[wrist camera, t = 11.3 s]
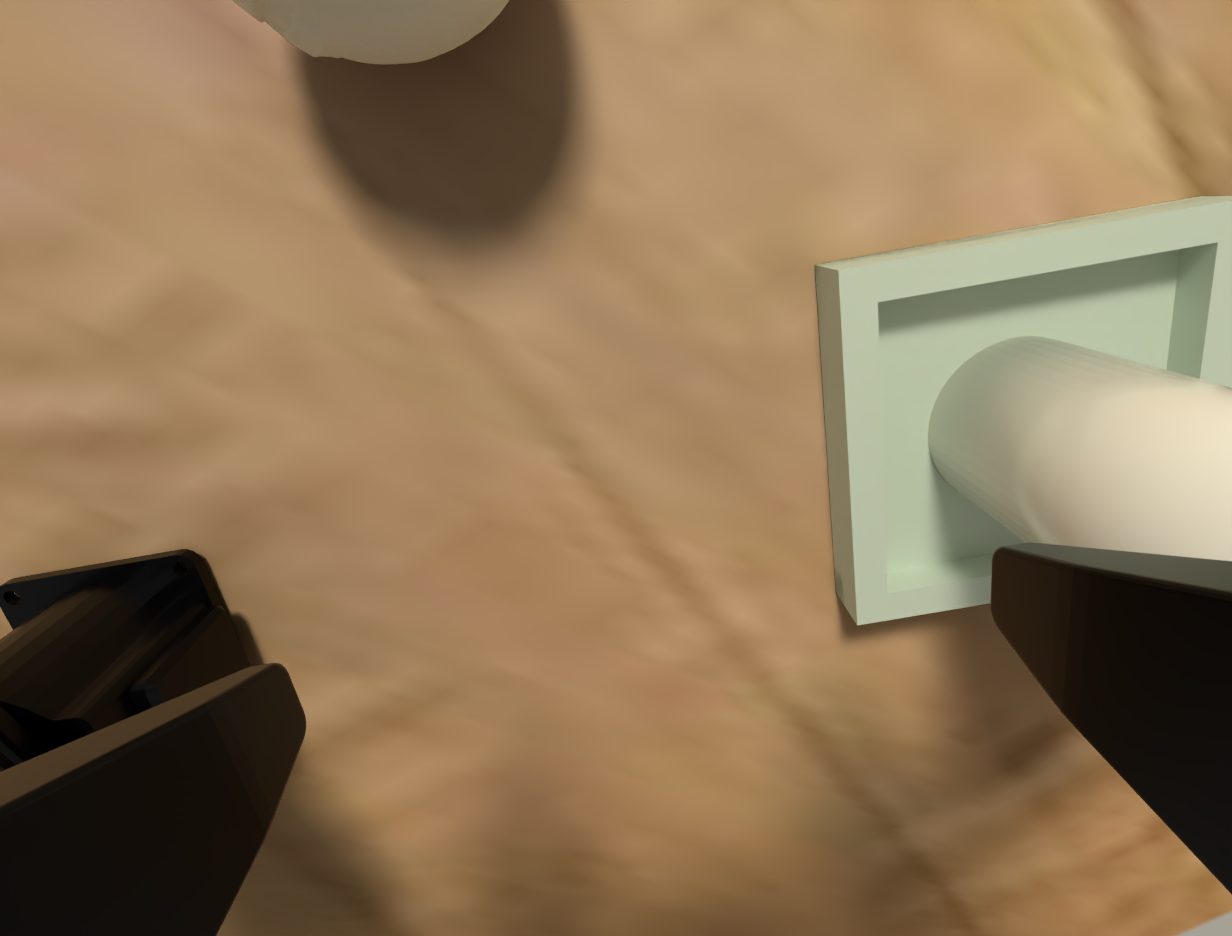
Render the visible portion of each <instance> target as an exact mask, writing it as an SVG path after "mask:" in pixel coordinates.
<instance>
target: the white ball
mask: <svg viewBox="0 0 1232 936" xmlns="http://www.w3.org/2000/svg"><path fill="white" fill-rule="evenodd" d="M233 1H234V2H235V3H236V4H237V5H239V6H240V7H241V8H242V9H244V10H245V11H246V12H247V13H249V14H250V15H251V16H253V17H254V18H255V19H257V20H258V21H260V22H266V23H267V24H269V25H270V26H271V27H272V28H273V29H274V30H276V31H277V32H278V33H279V34H280V35H282V36H283V37H284V38H285V39H286V40H287V41H288V42H289V43H291V44H293V45H294V46H296V47H297V48H299V49H301V50H302V51H304V52H306V53H307V54H309V55H311V56H313V57H320V56H324V57H334V58H340V57H342V58H345V59H349V60H353V61H357V62H362V63H369V64H379V65H380V64H381V65H384V64H403V63H404V64H406V63H415V62H421V61H425V60H429V59H431V58H434V57H436V56H438V55H441V54H444V53H446V52H448V51H451V50H453V49H455V48H456V47H458V46H460V45H462V44H464V43H465V42H468V41H469V40H470V39H471V38H473V37H474V36H475V35H477V34H478V33H480V32H482V31H483V30H484V29H485V28H486V27H487V26H488V25H489V24H490V23H491V22H492V21H493V20H494V19H495V18H496V17H497V16H498V15H499V14H500V13H501V11H502V10H503V8H504V7H505V6H506V4H507V3H508V2H509V0H233Z"/></svg>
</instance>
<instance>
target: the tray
mask: <svg viewBox="0 0 1232 936" xmlns="http://www.w3.org/2000/svg"><path fill="white" fill-rule="evenodd" d="M815 277H816V292H817V307H818V323H819V338H820V354H821V369H822V385H823V400H824V415H825V431H826V446H827V462H828V477H829V493H830V508H831V524H832V539H833V554H834V570H835V585H836V594H837V595H838V597H839V598H840V600H841V601H842V603H843V604H844V606H845V607H846V609H847V610H848V612H849V614H850V615H851V617H852V618H853V620H854V621H855V623H856V624H857V625H863V624H869V623H875V622H881V621H887V620H893V619H899V618H905V617H911V616H917V615H923V614H929V613H935V612H941V611H947V610H953V609H959V608H965V607H971V606H977V605H983V604H989V603H990V602H991V573H992V557H993V554H994V552H995V551H996V549H997V548H999V547H1002V546H1006V545H1013V544H1019V543H1026V542H1024V541H1023V540H1022V539H1020V538H1019V537H1018V536H1016V535H1015V534H1014V533H1012V532H1011V531H1010V530H1008V529H1007V528H1006V527H1004V526H1003V525H1002V524H1000V523H999V522H998V521H996V520H995V519H994V518H993V517H991V516H990V515H989V514H987V513H986V512H985V511H983V510H982V509H981V508H979V507H978V506H977V505H975V504H974V503H973V502H971V501H970V500H969V499H967V498H966V497H965V496H963V495H962V494H961V493H959V492H958V491H957V490H956V489H954V488H953V487H952V486H950V485H949V484H948V483H947V482H946V481H945V480H944V479H943V478H942V476H941V475H940V474H939V472H938V471H937V469H936V467H935V465H934V463H933V461H932V458H931V455H930V450H929V445H928V427H929V420H930V416H931V412H932V409H933V406H934V404H935V401H936V399H937V397H938V395H939V393H940V391H941V389H942V388H943V386H944V385H945V383H946V382H947V380H948V379H949V378H950V377H951V376H952V374H953V373H954V372H955V371H956V370H957V369H958V368H959V367H960V366H961V365H962V364H963V363H964V362H965V361H967V360H968V359H969V358H971V357H972V356H973V355H975V354H976V353H978V352H979V351H981V350H983V349H984V348H986V347H988V346H991V345H993V344H995V343H997V342H1000V341H1003V340H1007V339H1010V338H1016V337H1021V336H1041V337H1047V338H1052V339H1056V340H1059V341H1063V342H1067V343H1070V344H1074V345H1078V346H1081V347H1085V348H1089V349H1092V350H1096V351H1099V352H1103V353H1107V354H1110V355H1114V356H1118V357H1121V358H1125V359H1129V360H1132V361H1136V362H1140V363H1143V364H1147V365H1151V366H1154V367H1158V368H1161V369H1165V370H1169V371H1172V372H1176V373H1180V374H1183V375H1187V376H1191V377H1194V378H1198V379H1202V380H1205V381H1209V382H1213V383H1216V384H1220V385H1223V386H1227V387H1231V388H1232V196H1202V197H1193V198H1187V199H1182V200H1176V201H1170V202H1165V203H1159V204H1154V205H1148V206H1142V207H1137V208H1131V209H1126V210H1120V211H1114V212H1109V213H1103V214H1097V215H1092V216H1086V217H1081V218H1075V219H1069V220H1064V221H1058V222H1053V223H1047V224H1041V225H1036V226H1030V227H1025V228H1019V229H1013V230H1008V231H1002V232H996V233H991V234H985V235H980V236H974V237H968V238H963V239H957V240H952V241H946V242H940V243H935V244H929V245H923V246H918V247H912V248H907V249H901V250H895V251H890V252H884V253H879V254H873V255H867V256H862V257H856V258H850V259H845V260H839V261H834V262H828V263H822V264H817V265H815Z"/></svg>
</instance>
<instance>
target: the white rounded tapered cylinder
mask: <svg viewBox="0 0 1232 936" xmlns="http://www.w3.org/2000/svg"><path fill="white" fill-rule="evenodd" d="M928 445H929V450H930V455H931V458H932V461H933V463H934V465H935V467H936V469H937V471H938V472H939V474H940V475H941V476H942V478H943V479H944V480H945V481H946V482H947V483H948V484H949V485H950V486H952V487H953V488H954V489H956V490H957V491H958V492H959V493H961V494H962V495H963V496H965V497H966V498H967V499H969V500H970V501H971V502H973V503H974V504H975V505H977V506H978V507H979V508H981V509H982V510H983V511H985V512H986V513H987V514H989V515H990V516H991V517H993V518H994V519H995V520H996V521H998V522H999V523H1000V524H1002V525H1003V526H1004V527H1006V528H1007V529H1008V530H1010V531H1011V532H1012V533H1014V534H1015V535H1016V536H1018V537H1019V538H1020V539H1022V540H1023V541H1024V542H1026V543H1028V542H1034V543H1044V544H1055V545H1065V546H1076V547H1087V548H1097V549H1108V550H1118V551H1129V552H1139V553H1150V554H1161V555H1171V556H1182V557H1192V558H1203V559H1213V560H1224V561H1232V388H1231V387H1227V386H1223V385H1220V384H1216V383H1213V382H1209V381H1205V380H1202V379H1198V378H1194V377H1191V376H1187V375H1183V374H1180V373H1176V372H1172V371H1169V370H1165V369H1161V368H1158V367H1154V366H1151V365H1147V364H1143V363H1140V362H1136V361H1132V360H1129V359H1125V358H1121V357H1118V356H1114V355H1110V354H1107V353H1103V352H1099V351H1096V350H1092V349H1089V348H1085V347H1081V346H1078V345H1074V344H1070V343H1067V342H1063V341H1059V340H1056V339H1052V338H1047V337H1041V336H1021V337H1016V338H1010V339H1007V340H1003V341H1000V342H997V343H995V344H993V345H991V346H988V347H986V348H984V349H983V350H981V351H979V352H978V353H976V354H975V355H973V356H972V357H971V358H969V359H968V360H967V361H965V362H964V363H963V364H962V365H961V366H960V367H959V368H958V369H957V370H956V371H955V372H954V373H953V374H952V376H951V377H950V378H949V379H948V380H947V382H946V383H945V385H944V386H943V388H942V389H941V391H940V393H939V395H938V397H937V399H936V401H935V404H934V406H933V409H932V412H931V416H930V420H929V427H928Z"/></svg>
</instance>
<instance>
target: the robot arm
mask: <svg viewBox="0 0 1232 936" xmlns="http://www.w3.org/2000/svg"><path fill="white" fill-rule="evenodd" d="M179 562H182V563H184V564H186V565H187V566H188V568H189V570H185V569H183V568H182V567H181V566H180V564H179ZM14 592H15V593H17V594H18V595H19V596H20V597H17V596H16V595H15V594H14ZM990 603H991V612H992V616H993V619H994V621H995V623H996V625H997V627H998V628H999V630H1000V631H1001V633H1002V634H1003V635H1004V637H1005V638H1006V639H1007V641H1008V642H1009V643H1010V645H1011V646H1012V647H1013V649H1014V650H1015V651H1016V653H1017V654H1018V655H1019V657H1020V658H1021V659H1022V661H1023V662H1024V663H1025V665H1026V666H1027V667H1028V669H1029V670H1030V671H1031V673H1032V674H1033V675H1034V677H1035V678H1036V679H1037V681H1038V682H1039V683H1040V685H1041V686H1042V687H1043V689H1044V690H1045V691H1046V693H1047V694H1048V695H1049V697H1050V698H1051V699H1052V701H1053V702H1054V703H1055V704H1056V706H1057V707H1058V708H1059V709H1060V711H1061V712H1062V713H1063V714H1064V715H1065V716H1066V718H1067V719H1068V720H1069V721H1070V722H1071V723H1072V724H1073V725H1074V727H1075V728H1076V729H1077V730H1078V731H1079V732H1080V733H1081V734H1082V735H1083V736H1084V737H1085V738H1086V739H1087V741H1088V742H1089V743H1090V744H1091V745H1092V746H1093V747H1094V748H1095V749H1096V750H1097V751H1098V752H1099V753H1100V754H1101V755H1102V757H1103V758H1104V759H1105V760H1106V761H1107V762H1108V763H1109V764H1110V765H1111V766H1112V767H1113V768H1114V769H1115V770H1116V771H1117V772H1118V774H1119V775H1120V776H1121V777H1122V778H1123V779H1124V780H1125V781H1126V782H1127V783H1128V784H1129V785H1130V786H1131V787H1132V788H1133V790H1134V791H1135V792H1136V793H1137V794H1138V795H1139V796H1140V797H1141V798H1142V799H1143V800H1144V801H1145V802H1146V803H1147V804H1148V806H1149V807H1150V808H1151V809H1152V810H1153V811H1154V812H1155V813H1156V814H1157V815H1158V816H1159V817H1160V818H1161V819H1162V820H1163V822H1164V823H1165V824H1166V825H1167V826H1168V827H1169V828H1170V829H1171V830H1172V831H1173V832H1174V833H1175V834H1176V835H1177V836H1178V838H1179V839H1180V840H1181V841H1182V842H1183V843H1184V844H1185V845H1186V846H1187V847H1188V848H1189V849H1190V850H1191V851H1192V852H1193V854H1194V855H1195V856H1196V857H1197V858H1198V859H1199V860H1200V861H1201V862H1202V863H1203V864H1204V865H1205V866H1206V867H1207V868H1208V870H1209V871H1210V872H1211V873H1212V874H1213V875H1214V876H1215V877H1216V878H1217V879H1218V880H1219V881H1220V882H1221V883H1222V884H1223V886H1224V887H1225V888H1226V889H1227V890H1228V891H1229V892H1230V893H1231V894H1232V561H1224V560H1213V559H1203V558H1192V557H1182V556H1171V555H1161V554H1150V553H1139V552H1129V551H1118V550H1108V549H1097V548H1087V547H1076V546H1065V545H1055V544H1044V543H1034V542H1028V543H1019V544H1013V545H1006V546H1002V547H999V548H997V549H996V551H995V552H994V554H993V557H992V573H991V602H990ZM0 607H1V609H2V611H3V613H4V614H5V616H6V618H7V620H8V621H9V623H10V625H11V627H12V629H13V631H12V632H10V633H9V634H8V635H6V636H5V637H3V638H2V639H1V640H0V936H216V935H217V933H218V931H219V929H220V927H221V925H222V923H223V921H224V919H225V917H226V915H227V913H228V911H229V909H230V907H231V906H232V904H233V902H234V900H235V898H236V896H237V894H238V892H239V890H240V888H241V886H242V884H243V882H244V880H245V878H246V876H247V874H248V872H249V870H250V868H251V866H252V864H253V862H254V860H255V858H256V856H257V854H258V852H259V850H260V848H261V846H262V844H263V841H264V839H265V837H266V835H267V833H268V830H269V828H270V825H271V823H272V821H273V818H274V816H275V813H276V810H277V808H278V805H279V802H280V800H281V797H282V795H283V792H284V789H285V787H286V784H287V781H288V779H289V776H290V774H291V771H292V768H293V766H294V763H295V760H296V758H297V755H298V753H299V750H300V747H301V745H302V742H303V739H304V736H305V731H306V719H305V714H304V711H303V708H302V706H301V703H300V701H299V698H298V696H297V693H296V691H295V688H294V686H293V683H292V681H291V678H290V676H289V673H288V672H287V670H286V668H285V667H284V666H283V665H281V664H279V663H270V664H264V665H258V666H252V667H250V666H249V663H248V661H247V659H246V656H245V654H244V652H243V649H242V647H241V645H240V642H239V640H238V638H237V635H236V633H235V631H234V628H233V626H232V624H231V621H230V619H229V617H228V614H227V612H226V611H225V610H224V609H223V607H222V605H221V602H220V600H219V598H218V595H217V593H216V591H215V588H214V586H213V584H212V581H211V579H210V577H209V574H208V572H207V570H206V567H205V565H204V563H203V560H202V559H201V557H200V556H199V555H198V554H197V553H195V552H194V551H191V550H188V549H181V550H175V551H169V552H163V553H158V554H152V555H146V556H140V557H134V558H129V559H123V560H117V561H111V562H105V563H100V564H94V565H88V566H82V567H76V568H71V569H65V570H59V571H53V572H47V573H42V574H36V575H30V576H24V577H19V578H14V579H11V580H9V581H7V582H6V583H4V584H3V585H1V586H0Z"/></svg>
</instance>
